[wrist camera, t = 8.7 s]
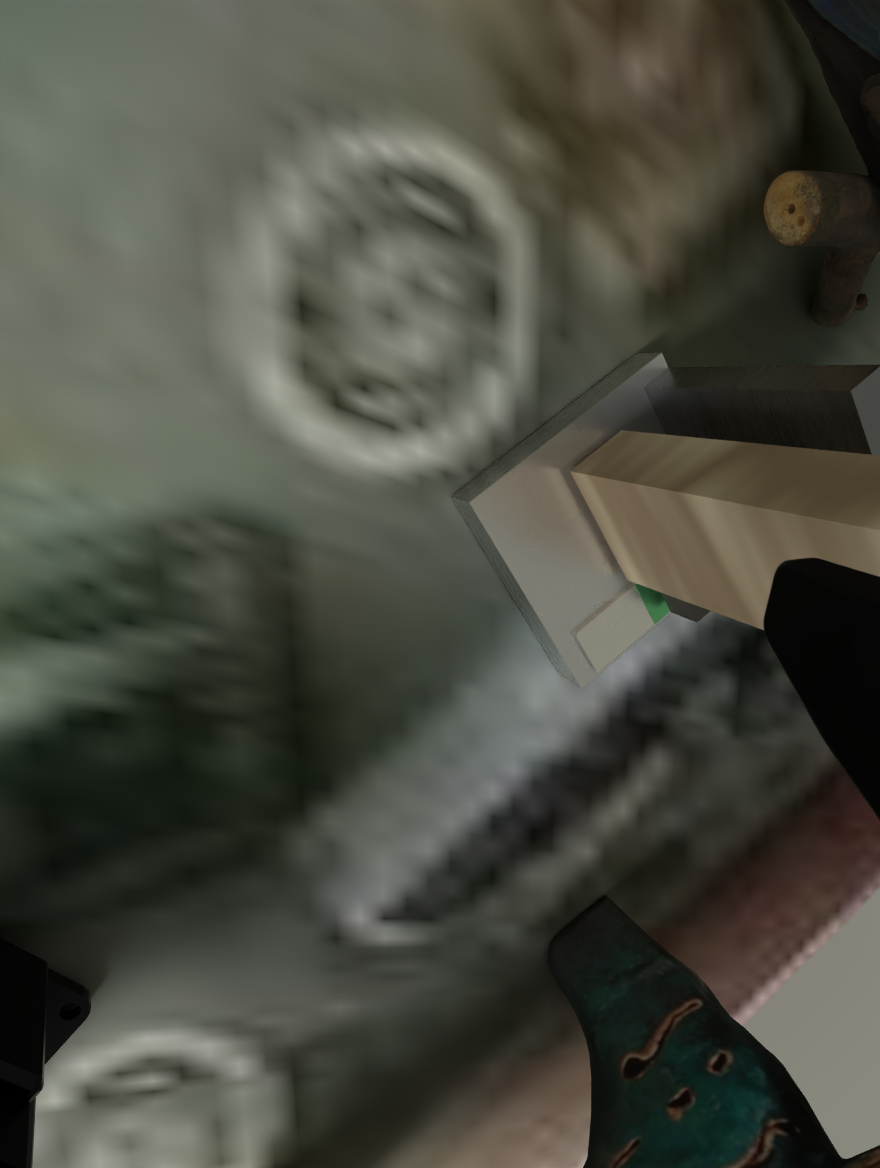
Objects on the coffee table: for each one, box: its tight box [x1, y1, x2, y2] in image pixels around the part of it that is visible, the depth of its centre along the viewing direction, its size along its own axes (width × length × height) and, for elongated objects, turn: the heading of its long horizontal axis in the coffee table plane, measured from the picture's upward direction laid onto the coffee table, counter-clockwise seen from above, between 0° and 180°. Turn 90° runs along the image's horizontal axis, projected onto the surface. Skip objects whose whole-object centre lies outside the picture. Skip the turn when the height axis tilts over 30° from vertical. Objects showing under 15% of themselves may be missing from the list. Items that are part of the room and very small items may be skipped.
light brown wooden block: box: [570, 430, 880, 630], centre depth 20 cm, size 2×6×10 cm, turn 33°
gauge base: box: [451, 353, 880, 689], centre depth 22 cm, size 7×7×8 cm
